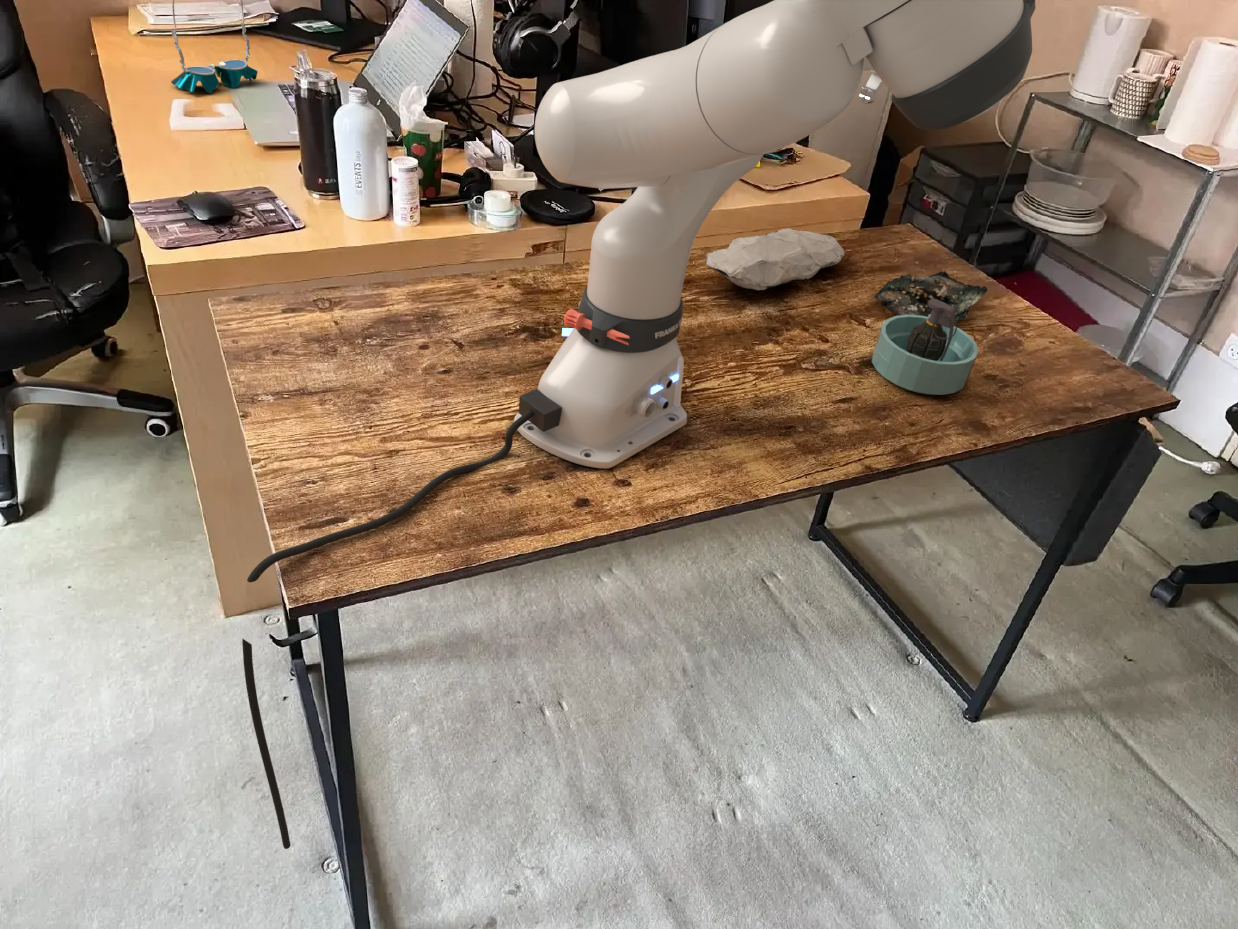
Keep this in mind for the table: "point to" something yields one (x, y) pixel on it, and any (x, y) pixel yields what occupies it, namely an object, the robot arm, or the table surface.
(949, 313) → the grenade
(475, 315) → the table surface
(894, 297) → the decorative rock
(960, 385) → the bowl
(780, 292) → the table surface
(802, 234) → the stone
